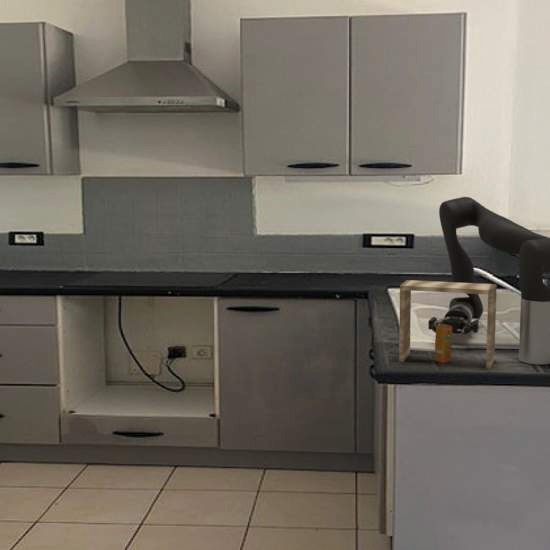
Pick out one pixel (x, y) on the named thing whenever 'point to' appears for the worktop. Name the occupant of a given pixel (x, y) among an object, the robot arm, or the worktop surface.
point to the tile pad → (422, 346)
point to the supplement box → (443, 343)
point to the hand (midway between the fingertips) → (450, 330)
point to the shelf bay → (451, 288)
